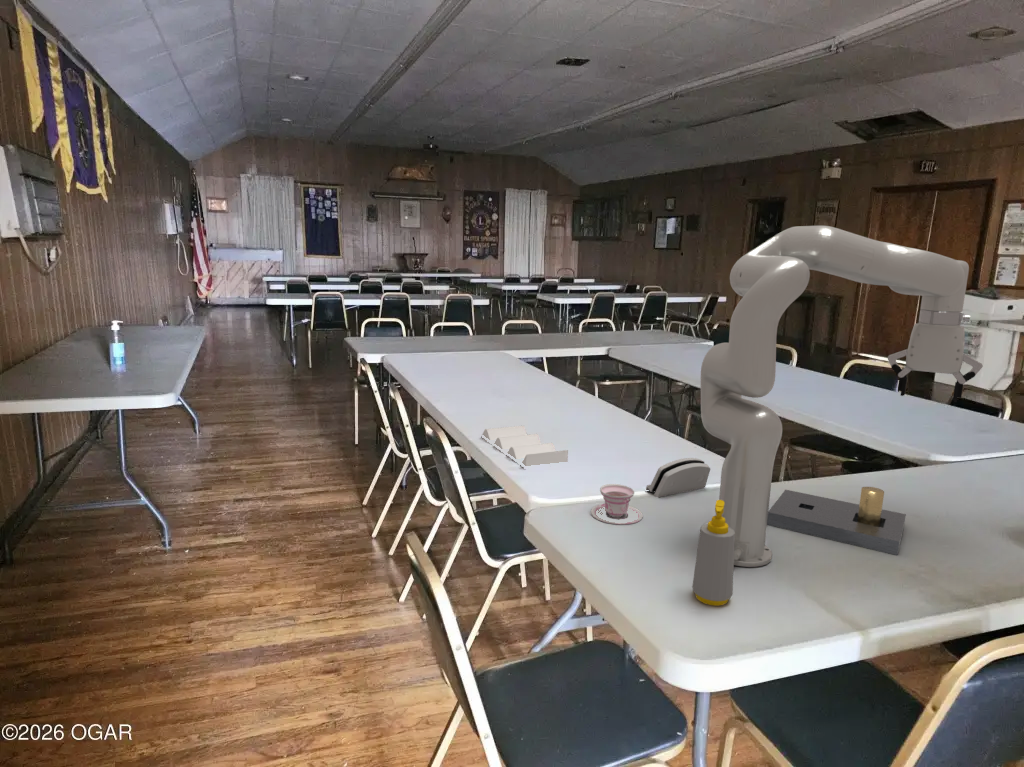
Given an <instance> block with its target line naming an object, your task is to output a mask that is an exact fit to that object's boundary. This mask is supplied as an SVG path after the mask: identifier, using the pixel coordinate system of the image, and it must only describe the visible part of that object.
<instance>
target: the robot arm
mask: <svg viewBox="0 0 1024 767" xmlns="http://www.w3.org/2000/svg"><path fill="white" fill-rule="evenodd" d="M810 270H811V271H817V272H822V273H824V274H827V275H828V274H829V275H833V276H836V277H840V278H843V279H846V280H849V281H854V282H856V283H860V284H861V283H862V284H867V285H874V286H876V285H877V286H887V287H889V289H890V290H891V291H893V292H895V293H898V294H901V295H906V296H908V295H909V296H921V302H920V308H919V309H920V310H919V316H918V322H917V323H914V325H913V326H912V327H913V328H912V330H911V334H910V337H909V342H908V347H907V348H906V349H904V350H900V351H898V352H895V353H892V354H889V355H888V356H887V361H888V363H889V366H890V367H891V369H892V370H893V372H894V373H896V375H897V376H898V384H897V385H898V386H897V391H898V392H900V396H901V397H904V396H905V394H906V390H907V383H908V376H907V375H908V374H909V373H910V372H911V371H917V372H926V373H927V372H929V373H935V374H936V373H937V374H938V373H939V374H947V375H953V377H954V378H955V379H956V382H955V381H954V382H955V383H954V390H953V396H952V402H953V403H957V402H958V401H957V400H958V399H962V397H963V396H962V394H963V390H964V389H963V388H964V385H965V383H967V382H968V381H970V380H972V379H973V378H975V377H976V375H978V373H979V372H980V370H982V368H983V367H984V366H983V363H981V362H979V361H978V360H976V359H974V358H972V357H970V356H969V355H966V354H965V352H964V350H965V342H966V340H965V339H966V338H965V337H966V334H965V332H966V331H965V326H962V325H961V324H963V323H965V322H970V318H971V315H969V314H968V315H967V314H965V313H963V311H964V309H963V308H964V304H965V296H966V291H967V283H968V279H969V272H970V267H969V263H968V262H967V261H965V260H961V259H960V260H959V259H958V260H957V259H955V258H951V257H949V256H945V255H942V254H939V253H936V252H932V251H928V250H924V249H919V248H914V247H907V246H904V245H899V244H896V243H895V244H894V243H892V242H885V241H879V240H878V239H873V238H869V237H867V236H863V235H860V234H856V233H854V232H851V231H846V230H843V229H841V228H837V227H833V226H829V225H803V226H802V225H801V226H791V227H789V228H786V229H784V230H782V231H781V232H779V233H776V234H775V235H774V236H772V237H770V238H768V239H767V240H765V242H762V243H761V244H759V245H757V247H755V248H753V249H751V250H749V251H748V252H747V253H746V254H744V255H743V256H740V258H738V259H737V261H736V262H735V263H734V264H733V266H732V267H731V270H730V274H729V283H730V286H731V288H732V290H733V292H735V293H736V295H738V296H740V297H741V299H740V300H739V301H738V303H737V305H736V306H735V308H734V310H733V311H732V315H731V318H730V324H729V336H728V342H721V343H716V344H715V345H713V346H712V347H711V348H710V349H709V350H708V351H707V352H706V353H705V355H704V357H703V360H702V362H701V368H700V416H701V421H702V422H701V423H702V425H703V427H704V429H705V430H706V431H707V432H708V434H710V435H711V436H713V437H715V438H717V439H719V440H721V441H723V442H725V443H728V444H729V445H730V449H729V451H728V453H727V455H726V456H725V458H724V461H722V462H723V463H722V467H721V471H720V486H719V496H718V500H723V501H724V502H725V503H724V512H723V514H722V517H724V518H725V520H726V521H725V523H727V524H728V526H729V527H730V528H731V529H733V530H734V532H735V542H734V566H737V567H745V568H746V567H747V568H755V567H763V566H765V565H768V564H769V563H771V561H772V559H773V552H772V550H771V548H769V547H768V546H767V545H766V537H767V527H768V525H767V519H768V511H769V510H770V509H769V507H770V500H771V498H770V497H771V489H772V479H773V478H772V477H773V470H774V464H775V459H776V454H777V453H778V452H777V451H778V449H779V447H780V443H781V439H782V437H783V423H782V421H781V418H780V417H779V415H778V414H777V413H776V412H775V411H774V410H773V409H772V408H769V407H768V406H766V405H764V404H761V403H759V402H756V401H752V400H750V399H746V398H742V396H743V397H747V398H753V399H754V398H757V399H758V398H762V397H765V396H767V395H768V394H769V393H770V392H771V391H772V389H773V388H774V385H775V381H776V366H777V362H776V361H777V360H776V359H777V333H778V326H779V322H780V319H781V317H782V316H783V314H784V313H785V312H786V310H787V309H788V308H789V307H790V305H791V304H793V302H795V301H796V300H797V299H798V298H799V297H800V296H801V295H802V294H803V293H804V291H806V288H808V287H807V286H808V285H809V282H810V276H811V272H810ZM904 357H905V358H906V359H905V367H903V368H901V367H900V365H899V364H898V362H897V360H898V359H901V358H904ZM963 362H964V363H966V364H967V365H970V366H971V367H972V368H971V369H970V370H969V371H968V372H967V373H965V374H963V373H962V372H961V369H962V365H963Z"/></svg>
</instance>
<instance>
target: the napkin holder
mask: <svg viewBox="0 0 1024 767" xmlns="http://www.w3.org/2000/svg"><path fill="white" fill-rule="evenodd" d="M710 471H711V467H710V466H709V465H708V464H707V463H705V461H704V460H702V459H700V458H697V457H684V458H680V459H675V460H672V461H669V462H668V463H665V464H663V465H661V466H659V468H658V469H657V470H656V473H655V475H654V477H653V479H652V481H651V483H650V484H648V485H646V487H645V489H646V490H650V491H649V492H651V493H653V496H654V497H655V498H660V497H663V498H664V497H667V496H671V495H676V494H681V493H686V492H689V491H695V490H699V489H700V490H701V489H704V487H705V488H706V486H707V482H708V478H709V476H710Z"/></svg>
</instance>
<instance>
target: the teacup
mask: <svg viewBox="0 0 1024 767" xmlns="http://www.w3.org/2000/svg"><path fill="white" fill-rule="evenodd" d="M599 491H600V494H601V495H602V497H603V500H604V503H601V504H597V505H595V506H593V507H592V508H591V510H590V514H591V516H592V517H593V518H594V519H596V520H598V521H600V522H602V523H607V524H611V525H633V524H637V523H639V522H641V521H642V519H643V518H644V516H643V513H642V511H641V510H639V509H637V508H636V507H634V506H632V505H629V502H631V498H633V497H634V495H635V490H634V489H633V488H631V487H630V486H627V485H623V484H617V483H607V484H603V485H601V486H600V488H599ZM603 507H605V511H606V512H607V515H608V516H609V517H611V516H613V517H612V518H621V516H622V517H623V516H624V515H625V514H626V513H627V511H628V508H629V509H632V510H633V511H636V513H638V519H637V520H634V521H632V522H627V523H615V522H609V521H606V520H603V519H601V518H599V517H598V516H597V515H596V511H597V510H598V511H599V509H600V508H601V509H602V508H603ZM603 509H604V508H603ZM600 511H601V510H600ZM600 511H599V512H600ZM599 512H598V513H599ZM601 513H602V512H601ZM601 513H600V514H601ZM602 514H603V513H602ZM602 514H601V515H602ZM640 520H641V521H640Z"/></svg>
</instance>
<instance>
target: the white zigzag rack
mask: <svg viewBox="0 0 1024 767" xmlns="http://www.w3.org/2000/svg"><path fill="white" fill-rule="evenodd" d="M482 435H484V436H485V437H486V438H488V439H489V440H495V439H496V441H495V443H494V444H496V445H497V446H499V447H500V448H501V449H509V451H508V452H507V453H508V454H510V455H511V456H513V457H514V458H515V459H521V458H524V460H523V461H522V463H523V464H524V465H525V466H531V465H540V464H550V463H559V462H568V461H569V450H568V449H565V450H556V447H555V445H554V443H553V442H547V443H546V442H545V443H542V441H541V439H540V435H539V434H538V433H532V434H528V433H527V429H526V427H525V425H516V426H515V425H514V426H505V427H504V426H503V427H494V428H485V429H484V431H483V432H482V434H481V436H482ZM568 463H569V462H568Z"/></svg>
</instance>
